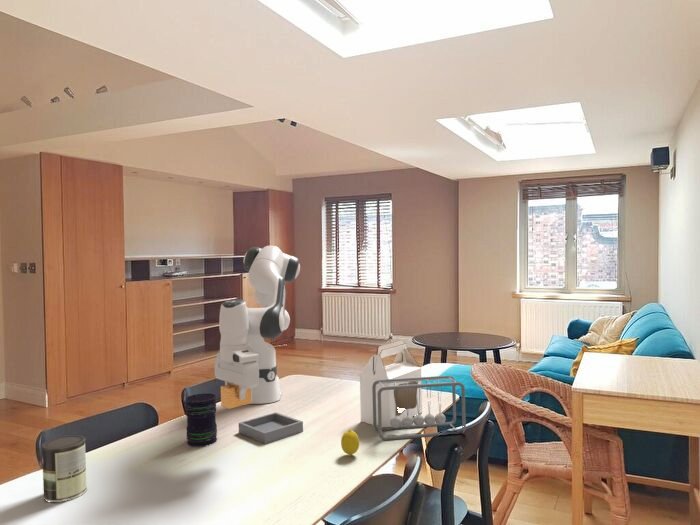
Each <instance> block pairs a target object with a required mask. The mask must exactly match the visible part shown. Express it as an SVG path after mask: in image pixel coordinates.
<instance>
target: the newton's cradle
mask: <svg viewBox="0 0 700 525" xmlns="http://www.w3.org/2000/svg"><path fill="white" fill-rule="evenodd" d="M442 380H451V381H448V382H447V381H445V382H440V381H442ZM412 381H416V382H417V381H421V382H425V383H421V384H419V383H418V382H417V383H418V384H414V385H406V384H405V385H398V386H395V383H396V382H412ZM429 381H436V382H429ZM378 383H380V385H381V386H382V388H380V389H379V391H378V426H377V424H376V385H377V384H378ZM381 383H394V386H383V385H382V384H381ZM457 386H458V387H460V388H461V390H460V391H461V422H462V424H461V425H462V428H463V429H464V430H463V433H464V432H465V431H466V427H467V425H466V424H467V420H466V388H465V385H464V384H463V383H462V382H461V381H456V379H455V377H453V376H451V375H438V376H423V377H422V376H421V377H419V378H403V379H387V380H377V381H375V382H374V383H373V386H372V395H373V424H372V425H373V428H374V429H375V430H376V431H378V437H379V438H380V440H382V441H393V440H405V439H407V440H408V439H421V438H430V437H437V436H436V435H437V434H439V433H440V432H431V433H428V432H427V433H417V434H416V433H415V434H406V435H405V434H403V435H392V436H391V435H390V436H386V435H385V434H384V432H383V431H394V430H395V431H396V430H408V428H410V429H421V428H422V429H423V428H434V427H435V428H436V427H447V426H448V427H449V426H451V427H452V428H453V429H454V430H455V429H456V427H455V426H454V424H455V423H456V421H457V396H456V394H457V393H456V391H457V389H456V387H457ZM443 387H451V388H452V390H451V391H452V393H451V394H452V397H451V398H452V420H451V421H448V422H446V420H447V419H446V415H445V414H443V413H441V411H442V404H439V406H438V413H436V414H435V416H434V415H433V414H432V413H431V411H428V413H426V415H424V416H423V415H421V414H418V415H416V416H414V417H411V416H409V415H408V413H407V416H405V417H404V418H403V420H402V423H401V419H400V418H399V417H397V416H396V412H397V403H396V409H395V416H394V417H392V418H391V420H390V424H391V426H392V427H382V416H381V392H382V391H384V390H394V394H395V390H396V389H397V392H398V389H405V391H406V389H408V402H409V389H412V388H416V393H417V388H419V400H420V388H422V389H423V388H424V389H426V394H427V395H426V396H427V397H431V392H432V390H431V389H432V388H437V389H439V388H440V392H442V388H443ZM428 388H429V392H428ZM428 393H429V395H428ZM439 394H440V393H437V398H438V399H437V400H438V401H440V397H439V396H440V395H439ZM406 405H407V399H406ZM417 407H418V401H417ZM427 407H428V410H430V402H427ZM402 424H403V425H402ZM463 426H464V427H463ZM462 428H461V429H462ZM463 433H462V434H463Z"/></svg>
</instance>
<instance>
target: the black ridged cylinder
mask: <svg viewBox="0 0 700 525" xmlns="http://www.w3.org/2000/svg"><path fill="white" fill-rule="evenodd" d="M216 399H217V398H216V395H215V394H214V393H197V394H192V395H189V396H187V397H186V398H185V411H186V412H185V415H186V420H187V421H186V423H187V425H186V440H187V441H186V443H187V445H188V446H189V447H192V448H193V447H194V448H200V446H201V448H202V446H203V447H207V446H206V445H208V446H211V445H213V444H215V443H217V440H218V437H217V434H218V429H217V428H218V426H217V422H216V413H217V402H216ZM210 444H211V445H210Z"/></svg>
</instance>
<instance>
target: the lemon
mask: <svg viewBox="0 0 700 525" xmlns="http://www.w3.org/2000/svg"><path fill="white" fill-rule="evenodd" d="M340 445H341V450H343V452H344V453H345V454H346V455H348V456H349V455H350V457H351V455H354V454H356V453H357V452H358V450H359V447H360V439H359V436H358V434H357V433H356V432H355V431H353V430H352V429H348V430H346V431H345V432H344V433H343V434H342V436H341V441H340Z"/></svg>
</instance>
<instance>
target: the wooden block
mask: <svg viewBox="0 0 700 525" xmlns="http://www.w3.org/2000/svg"><path fill="white" fill-rule="evenodd" d="M239 392H240V389H239V385H236V384H229V385H225V384H224V385H221V386H220V406H221V407H223V408H226V409H230V410H231V409H233V408H237V407H241V406H245V405H250V404H249V403H252V399H251V388H247V390H246V393H245V399H243V400H240V399H238V393H239Z"/></svg>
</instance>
